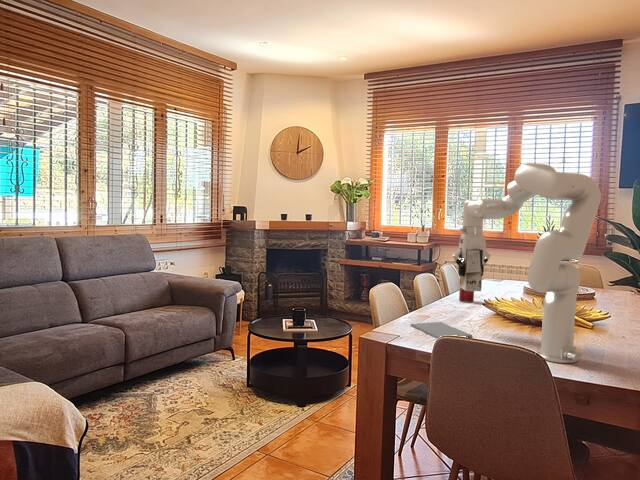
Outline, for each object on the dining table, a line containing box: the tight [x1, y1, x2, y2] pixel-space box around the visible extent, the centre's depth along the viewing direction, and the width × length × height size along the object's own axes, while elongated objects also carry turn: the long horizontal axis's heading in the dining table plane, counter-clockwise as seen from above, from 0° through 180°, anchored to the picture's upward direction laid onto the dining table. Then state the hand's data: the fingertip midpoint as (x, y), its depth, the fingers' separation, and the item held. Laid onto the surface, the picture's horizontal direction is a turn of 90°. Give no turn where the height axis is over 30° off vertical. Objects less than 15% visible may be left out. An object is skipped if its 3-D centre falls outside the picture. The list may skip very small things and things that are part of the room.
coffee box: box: [459, 249, 483, 292], centre depth 197 cm, size 9×6×16 cm
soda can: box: [458, 287, 475, 304], centre depth 258 cm, size 7×7×12 cm
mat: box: [410, 321, 473, 339], centre depth 196 cm, size 22×14×1 cm, turn 18°
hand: (470, 275), depth 197 cm, fingers closed on coffee box, 7 cm apart
